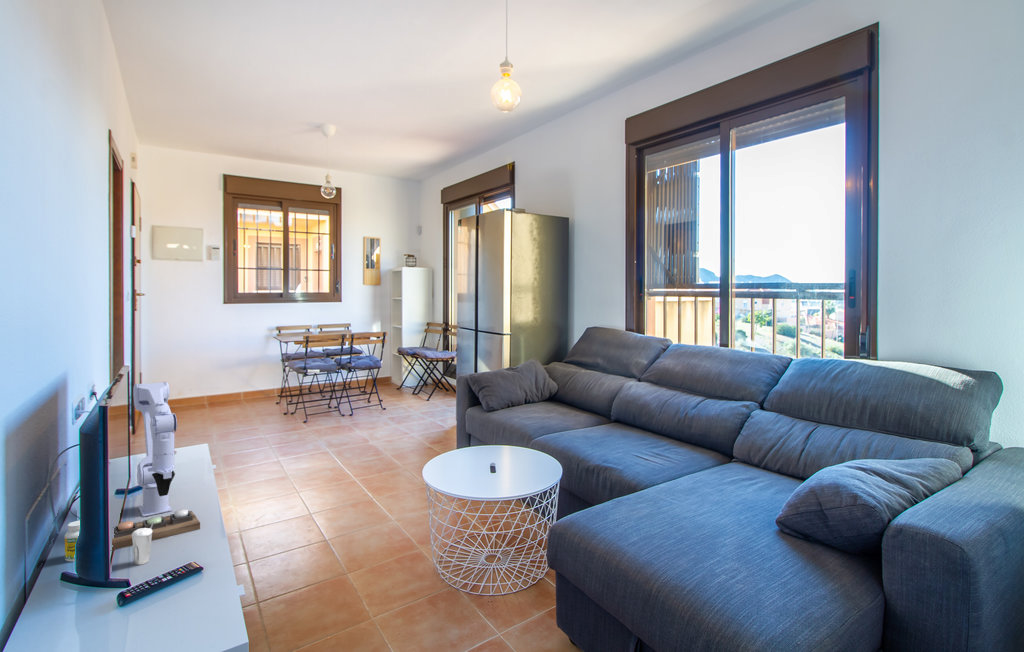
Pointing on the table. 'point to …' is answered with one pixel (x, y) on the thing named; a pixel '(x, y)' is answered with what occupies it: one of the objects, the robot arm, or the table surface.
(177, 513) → the grey button
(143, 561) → the milkshake
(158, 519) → the sage button
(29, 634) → the table surface
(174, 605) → the table surface
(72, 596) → the table surface
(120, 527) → the terracotta button
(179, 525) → the button board
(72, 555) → the supplement bottle
